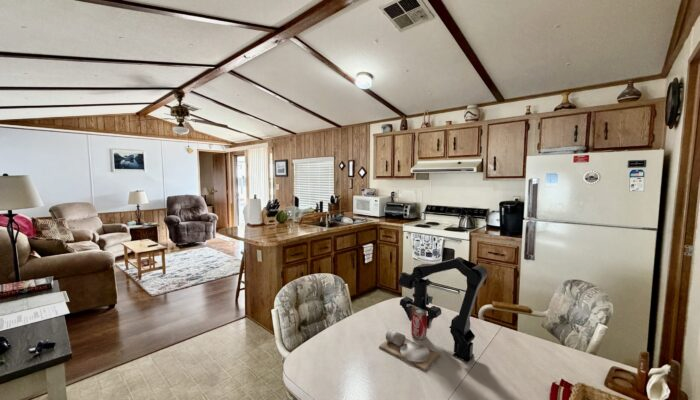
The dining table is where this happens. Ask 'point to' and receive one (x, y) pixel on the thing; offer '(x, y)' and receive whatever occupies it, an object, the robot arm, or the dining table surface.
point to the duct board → (409, 350)
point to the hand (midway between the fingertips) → (419, 324)
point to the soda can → (419, 324)
